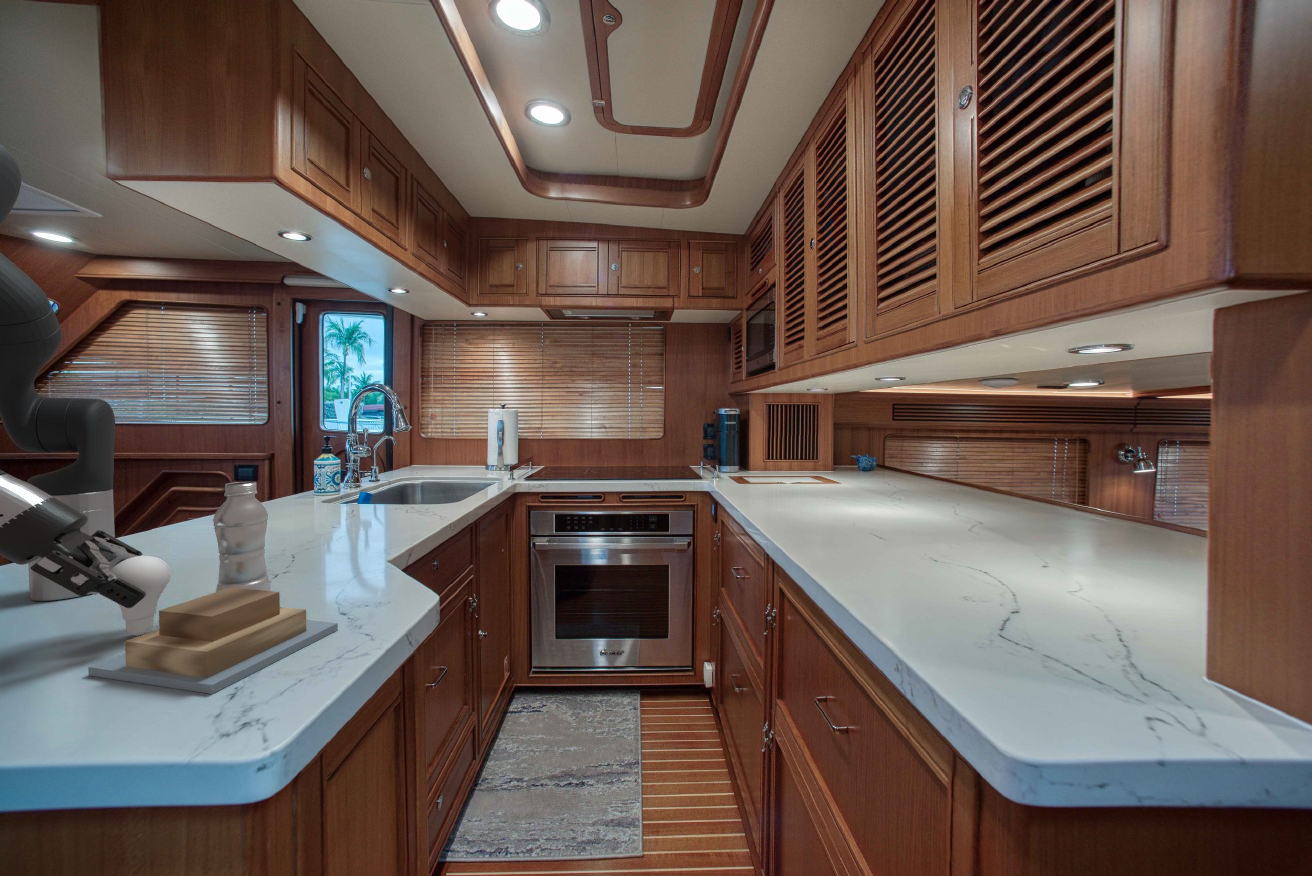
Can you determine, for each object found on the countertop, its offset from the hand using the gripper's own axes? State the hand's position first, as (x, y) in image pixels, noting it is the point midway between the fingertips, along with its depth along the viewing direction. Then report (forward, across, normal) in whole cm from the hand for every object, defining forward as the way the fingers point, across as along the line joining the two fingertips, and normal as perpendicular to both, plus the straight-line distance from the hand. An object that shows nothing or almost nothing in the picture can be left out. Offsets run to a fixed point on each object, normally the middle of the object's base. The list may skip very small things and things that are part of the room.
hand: (150, 591), depth 65 cm
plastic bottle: (+11, +4, -2) cm, 12 cm away
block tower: (+11, -13, -2) cm, 17 cm away
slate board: (+11, -12, -2) cm, 16 cm away
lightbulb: (+4, 0, +5) cm, 6 cm away
